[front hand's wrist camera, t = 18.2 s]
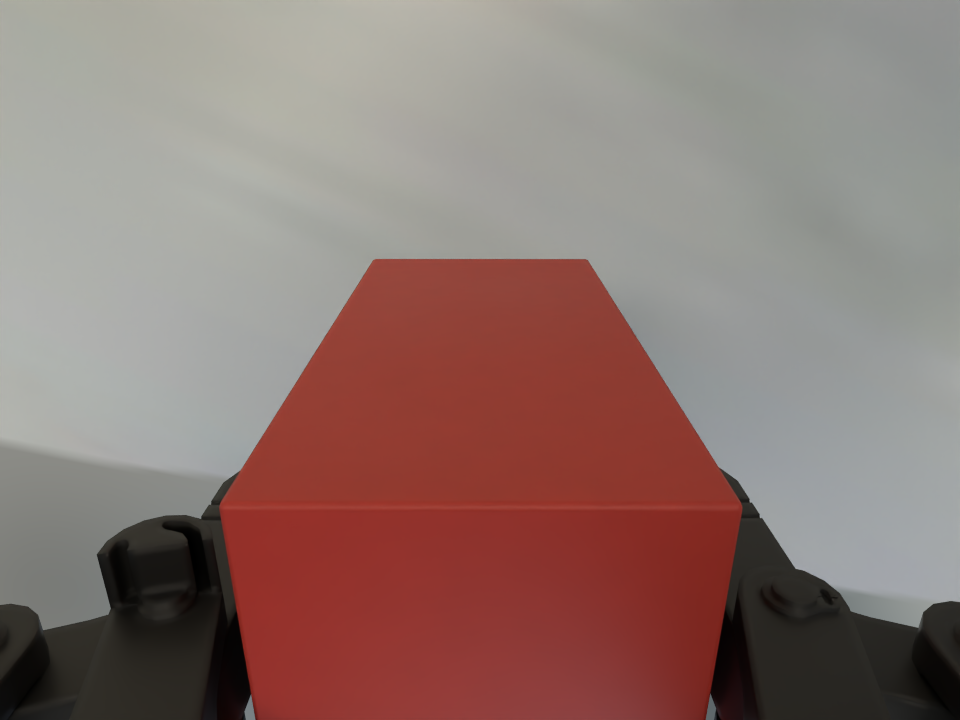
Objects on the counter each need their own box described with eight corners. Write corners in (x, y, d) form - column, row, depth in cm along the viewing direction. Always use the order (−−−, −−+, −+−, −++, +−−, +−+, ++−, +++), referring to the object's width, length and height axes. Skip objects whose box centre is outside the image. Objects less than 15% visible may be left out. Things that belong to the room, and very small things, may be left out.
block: (388, 516, 17) (293, 955, 8) (372, 258, 14) (215, 504, 6) (572, 516, 17) (666, 956, 8) (588, 258, 14) (747, 506, 6)
